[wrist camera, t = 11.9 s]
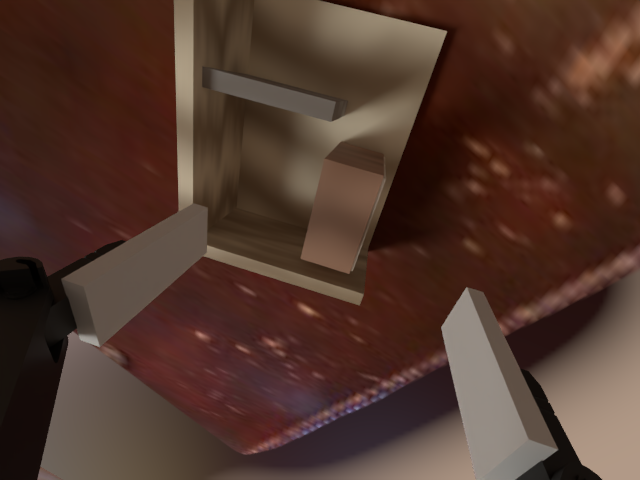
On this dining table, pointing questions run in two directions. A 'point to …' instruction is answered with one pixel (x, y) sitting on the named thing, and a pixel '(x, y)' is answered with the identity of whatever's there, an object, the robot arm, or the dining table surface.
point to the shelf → (288, 120)
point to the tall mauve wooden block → (343, 206)
